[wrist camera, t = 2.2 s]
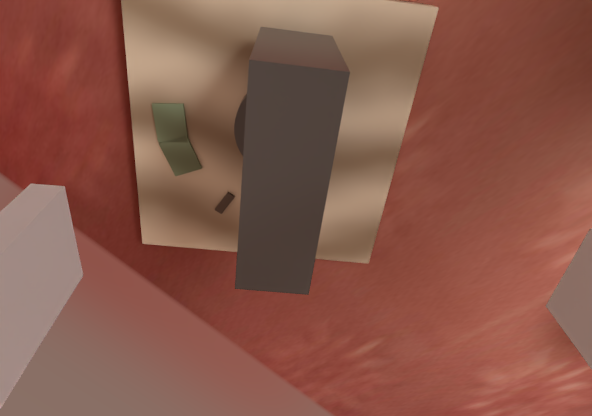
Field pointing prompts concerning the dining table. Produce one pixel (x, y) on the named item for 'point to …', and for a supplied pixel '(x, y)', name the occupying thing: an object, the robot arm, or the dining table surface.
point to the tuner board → (230, 92)
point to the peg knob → (286, 156)
